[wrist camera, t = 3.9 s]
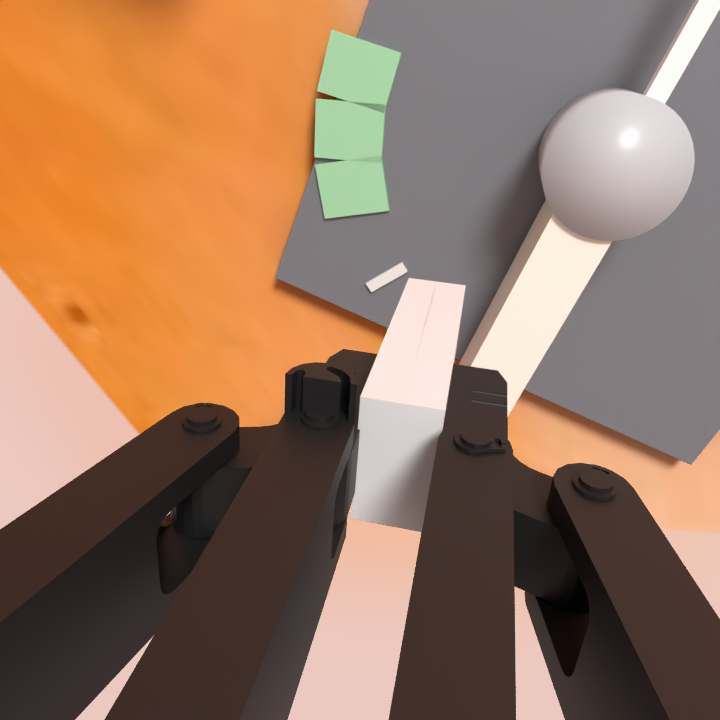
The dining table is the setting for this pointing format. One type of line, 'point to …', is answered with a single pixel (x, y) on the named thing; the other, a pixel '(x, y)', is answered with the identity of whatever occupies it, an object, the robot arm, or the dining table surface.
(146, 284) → the dining table surface
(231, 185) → the dining table surface
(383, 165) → the dial board
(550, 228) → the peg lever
